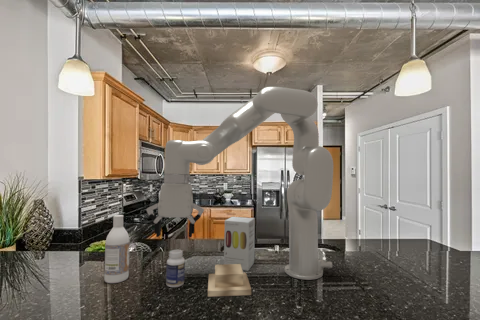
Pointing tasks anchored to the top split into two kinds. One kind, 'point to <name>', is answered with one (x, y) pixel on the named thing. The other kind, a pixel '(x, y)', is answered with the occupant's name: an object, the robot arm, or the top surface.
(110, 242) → the bath foam
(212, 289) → the plinth
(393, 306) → the top surface
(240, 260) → the supplement box
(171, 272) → the pill bottle
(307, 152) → the robot arm
